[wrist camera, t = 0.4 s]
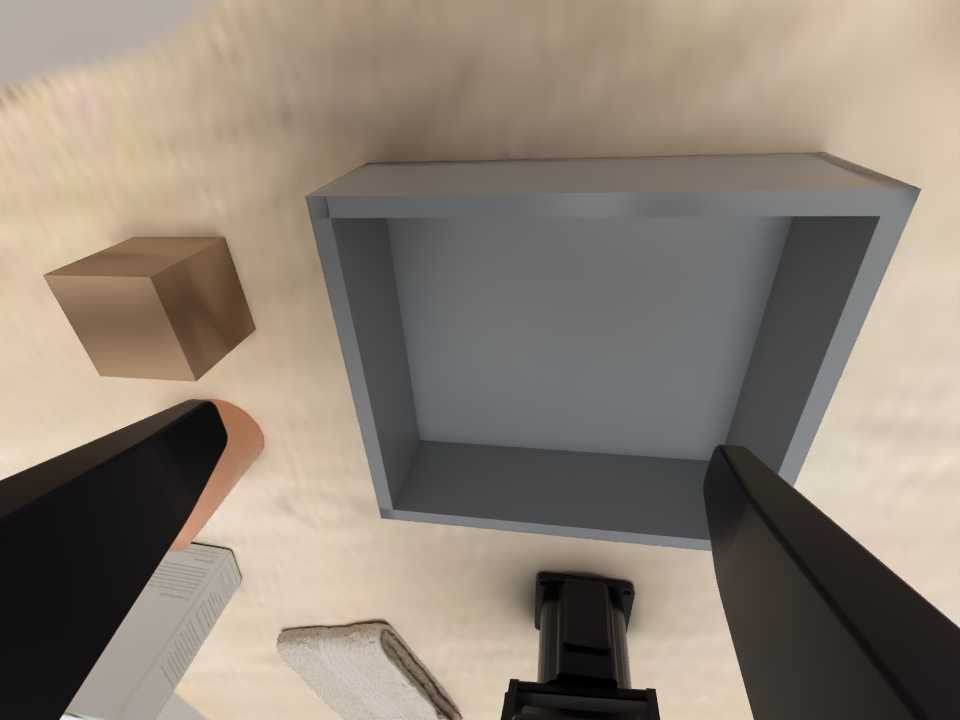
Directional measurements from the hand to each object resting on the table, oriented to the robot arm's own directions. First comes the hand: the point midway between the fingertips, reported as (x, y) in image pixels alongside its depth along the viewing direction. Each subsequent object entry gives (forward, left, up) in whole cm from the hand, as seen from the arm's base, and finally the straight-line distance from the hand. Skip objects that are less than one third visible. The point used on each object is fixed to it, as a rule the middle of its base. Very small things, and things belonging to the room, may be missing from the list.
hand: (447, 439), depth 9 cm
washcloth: (-43, +14, -15) cm, 48 cm away
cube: (-3, +17, -14) cm, 22 cm away
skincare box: (-27, +26, -14) cm, 40 cm away
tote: (-5, -2, -14) cm, 15 cm away
